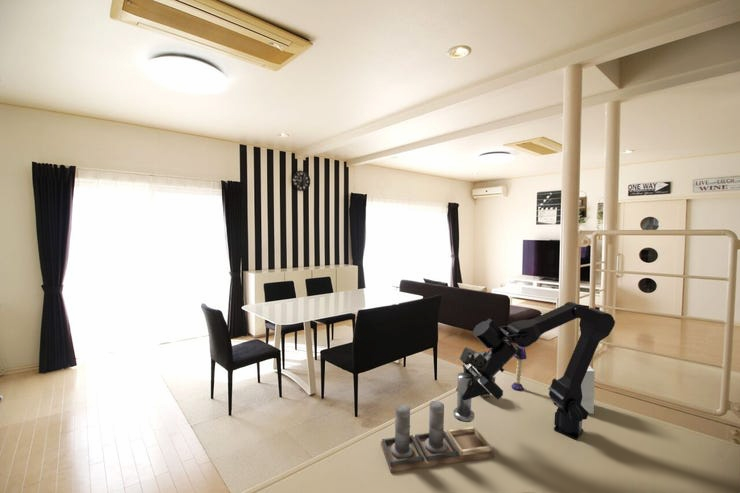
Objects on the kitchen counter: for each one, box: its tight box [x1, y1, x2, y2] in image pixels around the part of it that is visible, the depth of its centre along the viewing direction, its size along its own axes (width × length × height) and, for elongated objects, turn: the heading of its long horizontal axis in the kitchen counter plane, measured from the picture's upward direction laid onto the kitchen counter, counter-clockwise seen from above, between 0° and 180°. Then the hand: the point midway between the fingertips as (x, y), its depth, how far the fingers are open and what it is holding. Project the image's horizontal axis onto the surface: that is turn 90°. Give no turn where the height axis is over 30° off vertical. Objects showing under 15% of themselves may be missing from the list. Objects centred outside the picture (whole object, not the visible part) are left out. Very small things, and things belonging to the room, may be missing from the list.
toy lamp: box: [511, 345, 527, 392], centre depth 128 cm, size 5×5×17 cm
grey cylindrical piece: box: [453, 372, 475, 423], centre depth 99 cm, size 6×6×12 cm
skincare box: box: [581, 365, 596, 415], centre depth 116 cm, size 8×6×15 cm
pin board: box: [380, 400, 495, 473], centre depth 94 cm, size 30×11×14 cm, turn 102°
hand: (459, 395), depth 99 cm, fingers closed on grey cylindrical piece, 4 cm apart
